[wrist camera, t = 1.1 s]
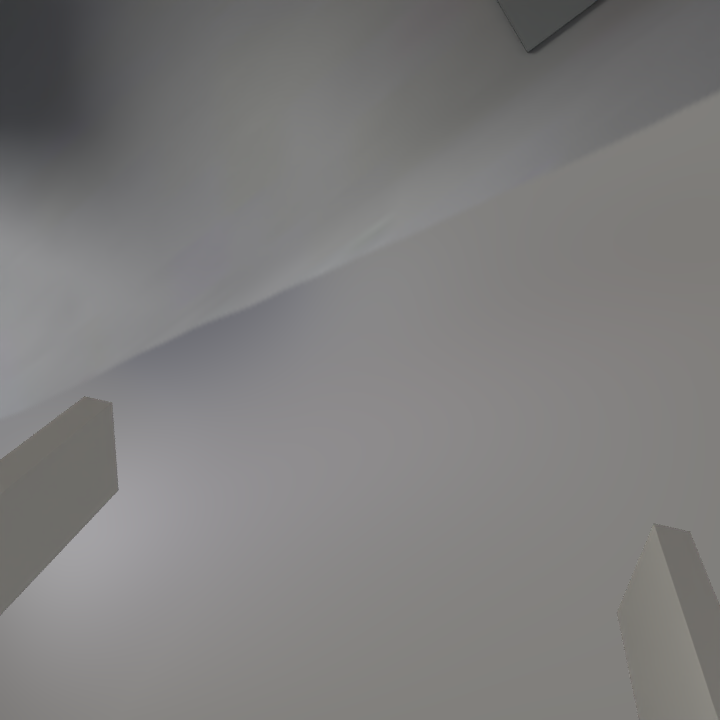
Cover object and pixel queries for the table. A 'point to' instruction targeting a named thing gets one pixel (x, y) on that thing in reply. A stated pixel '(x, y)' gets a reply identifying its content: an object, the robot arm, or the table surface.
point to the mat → (540, 17)
